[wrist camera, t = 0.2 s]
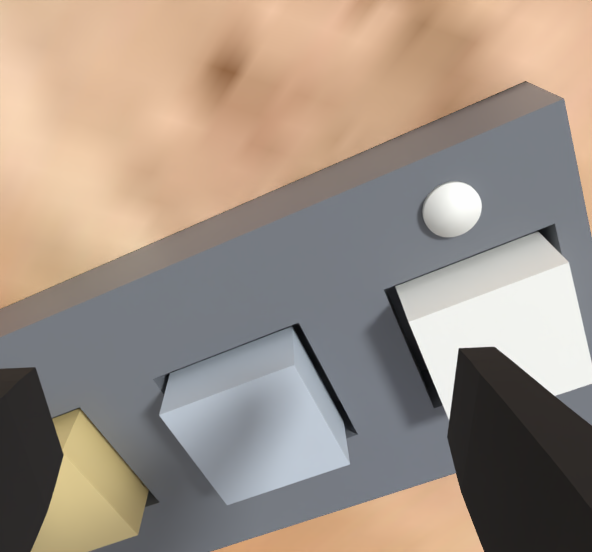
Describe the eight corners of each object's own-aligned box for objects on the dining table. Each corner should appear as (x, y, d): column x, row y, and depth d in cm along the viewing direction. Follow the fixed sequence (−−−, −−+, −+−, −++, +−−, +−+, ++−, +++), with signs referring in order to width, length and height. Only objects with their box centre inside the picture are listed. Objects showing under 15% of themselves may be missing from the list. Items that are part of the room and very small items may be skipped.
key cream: (566, 343, 19) (596, 382, 17) (437, 388, 19) (452, 430, 18) (538, 231, 17) (568, 262, 15) (395, 286, 17) (408, 322, 16)
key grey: (343, 420, 20) (350, 464, 18) (231, 460, 21) (226, 505, 19) (292, 326, 18) (293, 364, 16) (169, 373, 19) (159, 415, 17)
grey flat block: (592, 373, 22) (630, 421, 20) (92, 541, 26) (73, 599, 23) (525, 81, 16) (567, 100, 14) (-96, 350, 20) (-144, 401, 18)
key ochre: (149, 488, 21) (137, 535, 20) (50, 523, 22) (31, 570, 20) (81, 407, 19) (61, 451, 18) (-25, 448, 20) (-54, 494, 18)
